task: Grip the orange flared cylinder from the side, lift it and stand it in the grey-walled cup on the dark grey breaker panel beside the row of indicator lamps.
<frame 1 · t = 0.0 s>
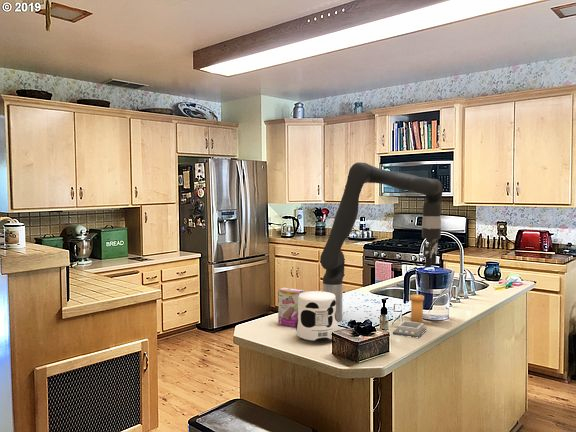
hand: (430, 265, 196), 29 cm above the countertop, tool pointing down, fingers open, 8 cm apart
orange flared cylinder: (416, 325, 210), on the countertop
candy bar box: (291, 325, 212), on the countertop
milk container: (316, 338, 194), on the countertop
breaker panel: (409, 332, 201), on the countertop
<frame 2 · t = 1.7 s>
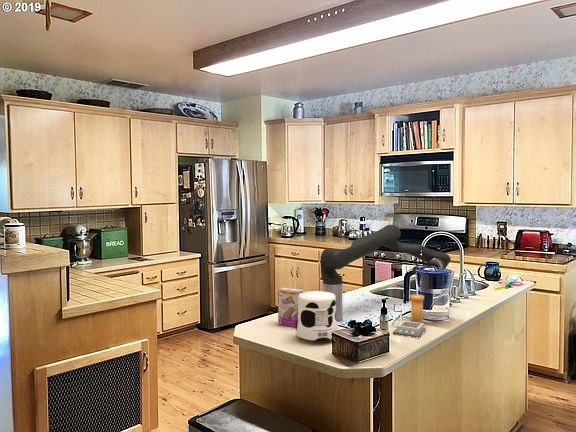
hand: (424, 273, 220), 22 cm above the countertop, tool horizontal, fingers open, 8 cm apart
nothing on the countertop moved.
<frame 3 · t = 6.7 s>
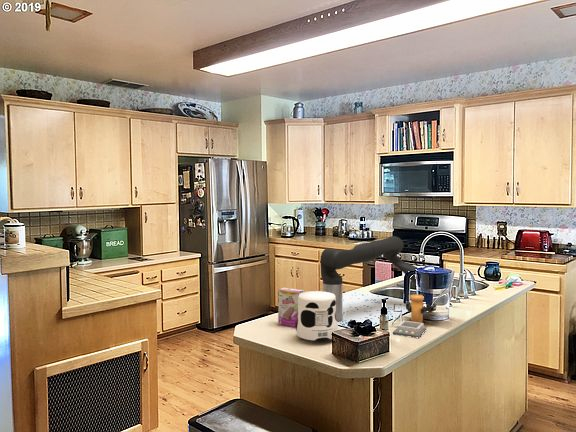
hand: (415, 310, 208), 8 cm above the countertop, tool horizontal, fingers closed on orange flared cylinder, 5 cm apart
orange flared cylinder: (416, 325, 210), on the countertop, touching gripper
everything else where it was.
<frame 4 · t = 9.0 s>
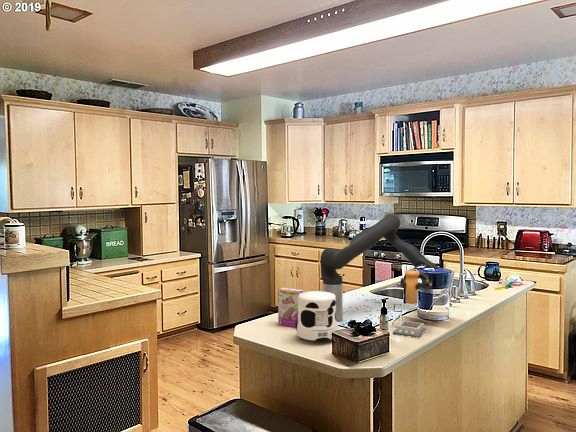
hand: (410, 286, 200), 20 cm above the countertop, tool horizontal, fingers closed on orange flared cylinder, 5 cm apart
orange flared cylinder: (411, 302, 202), point 12 cm above the countertop, touching gripper
everything else where it was.
when the fingers open (10 cm above the countertop, at t = 11.5 s): orange flared cylinder drops 1 cm, resting on breaker panel.
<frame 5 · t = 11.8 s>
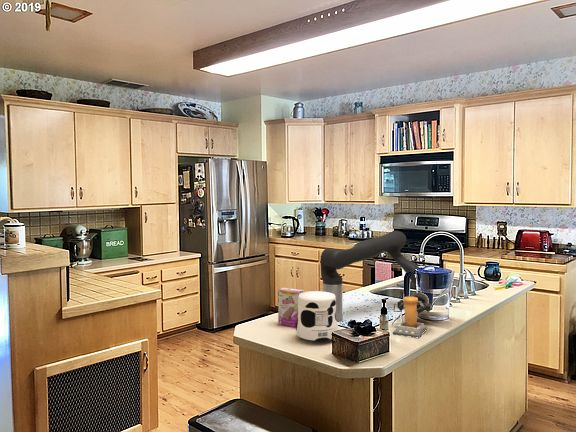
hand: (409, 309, 200), 10 cm above the countertop, tool horizontal, fingers open, 7 cm apart
orange flared cylinder: (410, 328, 202), point 1 cm above the countertop, touching breaker panel
everything else where it was.
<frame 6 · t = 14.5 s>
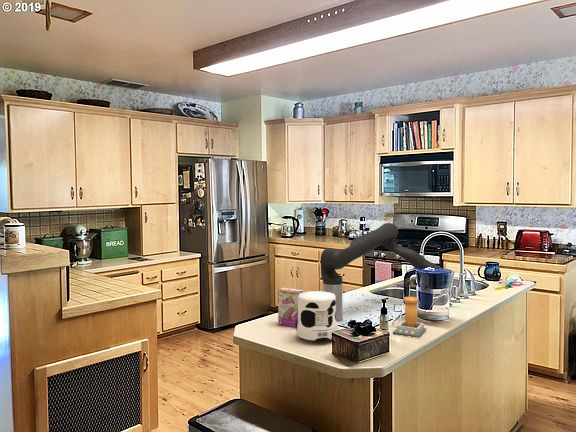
hand: (415, 285, 213), 17 cm above the countertop, tool horizontal, fingers open, 8 cm apart
nothing on the countertop moved.
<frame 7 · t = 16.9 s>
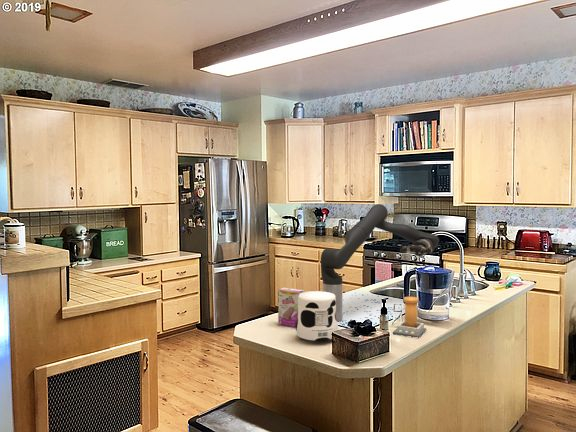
hand: (411, 251, 218), 32 cm above the countertop, tool horizontal, fingers open, 8 cm apart
nothing on the countertop moved.
at the end: orange flared cylinder 0.1 cm from the target spot on the breaker panel, point 1.0 cm above the breaker panel's base; orange flared cylinder tilted 0°; the gripper is holding nothing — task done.
